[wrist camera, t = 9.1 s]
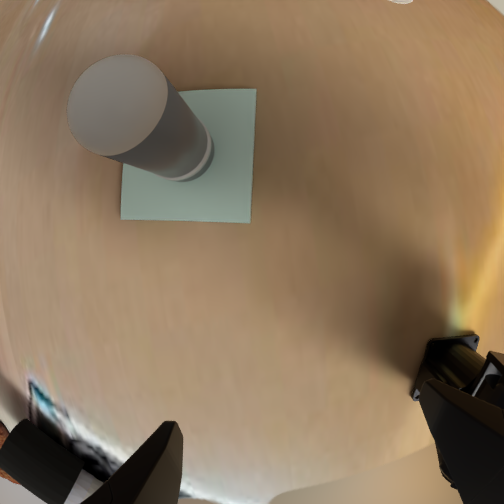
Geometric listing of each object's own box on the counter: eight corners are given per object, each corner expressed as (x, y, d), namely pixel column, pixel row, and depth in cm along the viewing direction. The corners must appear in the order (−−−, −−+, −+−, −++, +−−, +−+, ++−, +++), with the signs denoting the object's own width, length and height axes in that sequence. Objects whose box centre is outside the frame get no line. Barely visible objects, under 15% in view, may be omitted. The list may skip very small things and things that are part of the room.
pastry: (58, 486, 29) (40, 510, 21) (26, 478, 31) (10, 496, 23) (2, 419, 28) (-22, 440, 20) (-19, 419, 30) (-39, 435, 22)
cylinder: (217, 121, 19) (159, 21, 7) (214, 183, 20) (139, 139, 8) (158, 124, 19) (59, 51, 7) (153, 183, 20) (35, 156, 8)
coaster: (256, 91, 19) (256, 88, 19) (250, 223, 20) (250, 223, 20) (134, 99, 20) (131, 97, 19) (124, 219, 21) (120, 219, 20)
